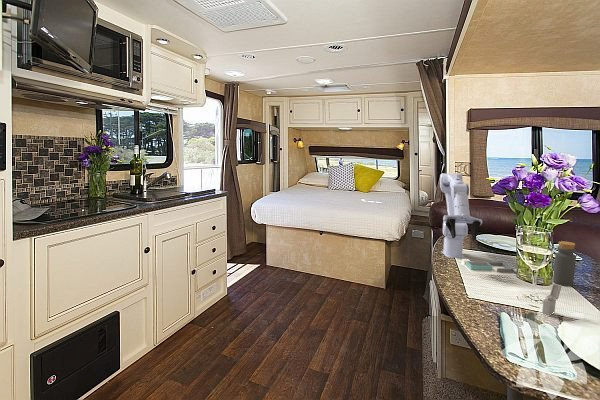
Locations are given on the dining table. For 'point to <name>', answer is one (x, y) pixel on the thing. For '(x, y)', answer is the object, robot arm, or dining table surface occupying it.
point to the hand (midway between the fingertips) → (464, 238)
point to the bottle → (564, 264)
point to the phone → (479, 266)
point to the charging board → (497, 268)
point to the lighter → (551, 300)
